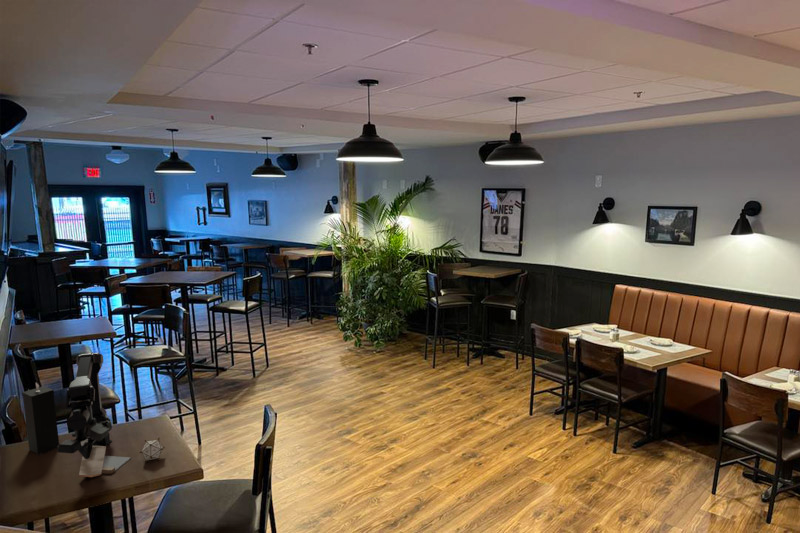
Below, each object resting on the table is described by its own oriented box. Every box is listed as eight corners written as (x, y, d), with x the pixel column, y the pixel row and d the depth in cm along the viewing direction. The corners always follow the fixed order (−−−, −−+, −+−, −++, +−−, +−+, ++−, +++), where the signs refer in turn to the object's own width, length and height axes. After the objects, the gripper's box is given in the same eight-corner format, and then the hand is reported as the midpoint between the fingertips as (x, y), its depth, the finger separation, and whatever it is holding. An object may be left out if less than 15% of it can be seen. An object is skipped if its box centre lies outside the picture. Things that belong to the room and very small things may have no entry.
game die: (155, 470, 195) (151, 459, 188) (136, 460, 196) (132, 449, 189) (171, 450, 201) (167, 438, 195) (153, 441, 203) (149, 429, 196)
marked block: (78, 476, 181) (84, 446, 183) (88, 474, 186) (93, 445, 188) (91, 477, 180) (96, 447, 183) (101, 474, 185) (106, 446, 188)
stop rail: (82, 471, 187) (81, 468, 187) (86, 468, 189) (85, 465, 189) (111, 474, 186) (111, 470, 186) (115, 471, 188) (114, 467, 188)
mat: (86, 468, 189) (86, 467, 189) (103, 456, 198) (102, 455, 198) (115, 471, 188) (115, 470, 188) (131, 458, 197) (130, 457, 197)
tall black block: (38, 455, 199) (30, 388, 195) (29, 450, 203) (21, 384, 199) (59, 447, 205) (52, 382, 201) (50, 442, 210) (43, 378, 205)
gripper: (83, 431, 169) (88, 474, 172) (121, 408, 187) (124, 447, 190) (54, 429, 171) (58, 472, 173) (94, 406, 189) (97, 445, 191)
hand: (87, 458), depth 182 cm, fingers closed
